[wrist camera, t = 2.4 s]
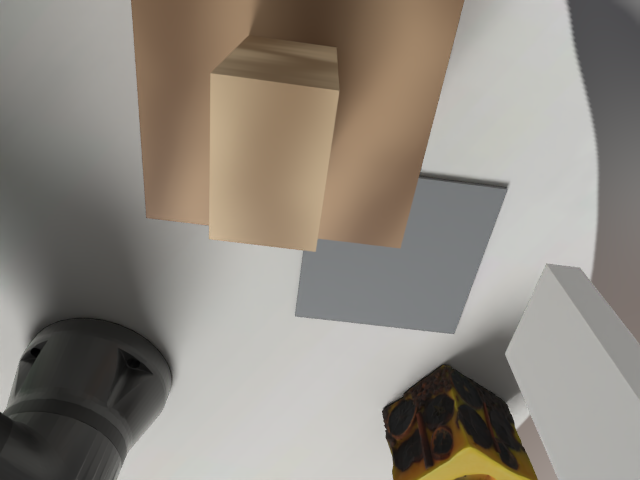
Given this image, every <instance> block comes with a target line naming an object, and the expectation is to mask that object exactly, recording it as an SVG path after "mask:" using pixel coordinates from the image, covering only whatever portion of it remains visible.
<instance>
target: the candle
mask: <svg viewBox="0 0 640 480" xmlns="http://www.w3.org/2000/svg"><path fill="white" fill-rule="evenodd" d="M403 396H404V397H403V398H402V399H400V400H399V401H397V402H395V403H394V404H392V405H390V406H388V407H387V408H385V409H384V410H383V411H382V413H383V419H384V423H385V425H384V426H385V428H386V429H387V430H385V432H386V439H387V442H388V445H389V448H390V450H391V454H392V457H393V470H392V474H393V480H538V479H537V476H536V474H535V472H534V469H533V467H532V464H531V462H530V460H529V458H528V455H527V453H526V452H525V449H524V447H523V446H522V443H521V440H520V438H519V436H518V434H517V431H516V429H515V425H514V420H513V418H512V415H511V414H510V411H509V409H508V405H507V404H506V403H505V402H504V401H503V400H502V399H501V398H498V397H496V395H495V394H493V393H492V392H489V391H487V389H485V388H483V387H482V386H480V385H478V384H477V383H475V382H473V380H471V379H469V378H467V377H465V376H463V375H462V374H461V373H459V372H458V371H456V370H454V369H452V367H451V366H448V365H442V366H441V367H440V368H438V369H437V370H435V371H434V372H433V373H432V374H430V375H429V376H427V377H426V378H424V379H423V380H421V381H420V382H419V383H417V384H416V385H415V386H413V387H412V388H410V389H409V390H408V392H407V393H404V395H403Z"/></svg>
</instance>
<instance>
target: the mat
mask: <svg viewBox="0 0 640 480" xmlns="http://www.w3.org/2000/svg"><path fill="white" fill-rule="evenodd" d="M506 192H507V188H506V187H498V186H490V185H482V184H475V183H467V182H459V181H451V180H444V179H436V178H428V177H420V176H419V178H418V182H417V186H416V190H415V194H414V198H413V202H412V205H411V209H410V213H409V217H408V221H407V225H406V229H405V233H404V237H403V240H402V244H401V248H392V247H384V246H375V245H367V244H359V243H350V242H342V241H334V240H325V239H318V240H317V246H316V252H313V251H305V250H303V258H302V265H301V273H300V281H299V288H298V296H297V303H296V311H295V316H297V317H306V318H315V319H324V320H333V321H342V322H351V323H360V324H368V325H377V326H386V327H395V328H404V329H413V330H422V331H431V332H440V333H449V334H454V333H455V330H456V328H457V325H458V322H459V319H460V317H461V314H462V311H463V309H464V306H465V303H466V300H467V298H468V295H469V292H470V290H471V287H472V284H473V281H474V279H475V276H476V273H477V271H478V268H479V265H480V262H481V260H482V257H483V254H484V252H485V249H486V246H487V243H488V241H489V238H490V235H491V233H492V230H493V227H494V224H495V222H496V219H497V216H498V214H499V211H500V208H501V205H502V203H503V200H504V197H505V195H506Z"/></svg>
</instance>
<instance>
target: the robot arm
mask: <svg viewBox="0 0 640 480" xmlns="http://www.w3.org/2000/svg"><path fill="white" fill-rule="evenodd" d="M505 356H506V358H507V360H508V363H509V365H510V367H511V370H512V372H513V374H514V377H515V379H516V382H517V384H518V386H519V389H520V391H521V393H522V396H523V398H524V400H525V403H526V405H527V407H528V410H529V412H530V414H531V417H532V419H533V421H534V424H535V426H536V429H537V431H538V433H539V436H540V438H541V440H542V443H543V445H544V447H545V450H546V452H547V454H548V456H549V459H550V461H551V464H552V466H553V468H554V471H555V473H556V475H557V478H558V480H640V344H639V343H638V341H637V340H636V339H635V338H634V336H633V335H632V334H631V332H630V331H629V330H628V329H627V327H626V326H625V325H624V324H623V322H622V321H621V320H620V318H619V317H618V316H617V315H616V313H615V312H614V311H613V310H612V308H611V307H610V306H609V304H608V303H607V302H606V301H605V299H604V298H603V297H602V295H601V294H600V293H599V291H598V290H597V289H596V288H595V286H594V285H593V284H592V282H591V281H590V280H589V279H588V277H587V276H586V275H585V274H584V272H583V271H582V270H581V268H578V267H570V266H562V265H553V264H546V265H545V268H544V270H543V272H542V274H541V276H540V279H539V281H538V283H537V285H536V287H535V289H534V292H533V294H532V296H531V298H530V300H529V302H528V305H527V307H526V309H525V311H524V313H523V315H522V318H521V320H520V322H519V324H518V326H517V328H516V331H515V333H514V335H513V337H512V339H511V342H510V344H509V346H508V348H507V350H506V352H505ZM171 383H172V379H171V373H170V369H169V367H168V364H167V362H166V360H165V359H164V357H163V356H162V355H161V353H160V352H159V351H158V350H157V349H156V348H155V347H154V346H153V345H152V344H151V343H150V342H149V341H147V340H146V339H145V338H143V337H142V336H140V335H139V334H137V333H135V332H133V331H131V330H129V329H127V328H125V327H123V326H120V325H117V324H114V323H111V322H107V321H102V320H96V319H82V318H81V319H69V320H64V321H60V322H57V323H54V324H52V325H50V326H48V327H46V328H44V329H43V330H42V331H40V332H39V333H38V334H37V336H36V337H35V338H34V339H33V341H32V342H31V343H30V344H29V346H28V347H27V348H26V350H25V351H24V353H23V355H22V357H21V359H20V361H19V365H18V368H17V372H16V375H15V379H14V382H13V386H12V390H11V393H10V397H9V400H8V404H7V407H6V409H5V411H4V412H3V414H2V413H1V412H0V480H117V477H118V475H119V472H120V470H121V467H122V465H123V462H124V460H125V457H126V455H127V453H128V451H129V450H130V449H131V448H132V447H133V445H134V444H135V443H136V442H137V441H138V440H139V438H140V437H141V436H142V435H143V434H144V432H145V431H146V430H147V429H148V428H149V427H150V425H151V424H152V423H153V422H154V421H155V419H156V418H157V417H158V416H159V415H160V413H161V411H162V410H163V408H164V406H165V403H166V400H167V397H168V395H169V392H170V389H171Z"/></svg>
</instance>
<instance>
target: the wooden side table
mask: <svg viewBox="0 0 640 480" xmlns="http://www.w3.org/2000/svg"><path fill="white" fill-rule="evenodd" d="M463 4H464V0H131V5H132V19H133V33H134V48H135V62H136V76H137V91H138V105H139V119H140V133H141V148H142V162H143V176H144V191H145V205H146V218H151V219H159V220H168V221H176V222H184V223H193V224H201V225H209V239H212V240H221V241H229V242H237V243H246V244H254V245H263V246H271V247H279V248H288V249H296V250H305V251H313V252H316V246H317V240H318V239H325V240H334V241H342V242H350V243H359V244H367V245H375V246H384V247H392V248H401V244H402V240H403V237H404V233H405V229H406V225H407V221H408V217H409V213H410V209H411V205H412V202H413V198H414V194H415V190H416V186H417V182H418V178H419V174H420V171H421V167H422V163H423V159H424V155H425V151H426V147H427V143H428V139H429V136H430V132H431V128H432V124H433V120H434V116H435V112H436V108H437V105H438V101H439V97H440V93H441V89H442V85H443V81H444V77H445V73H446V70H447V66H448V62H449V58H450V54H451V50H452V46H453V42H454V38H455V35H456V31H457V27H458V23H459V19H460V15H461V11H462V7H463Z"/></svg>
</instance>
